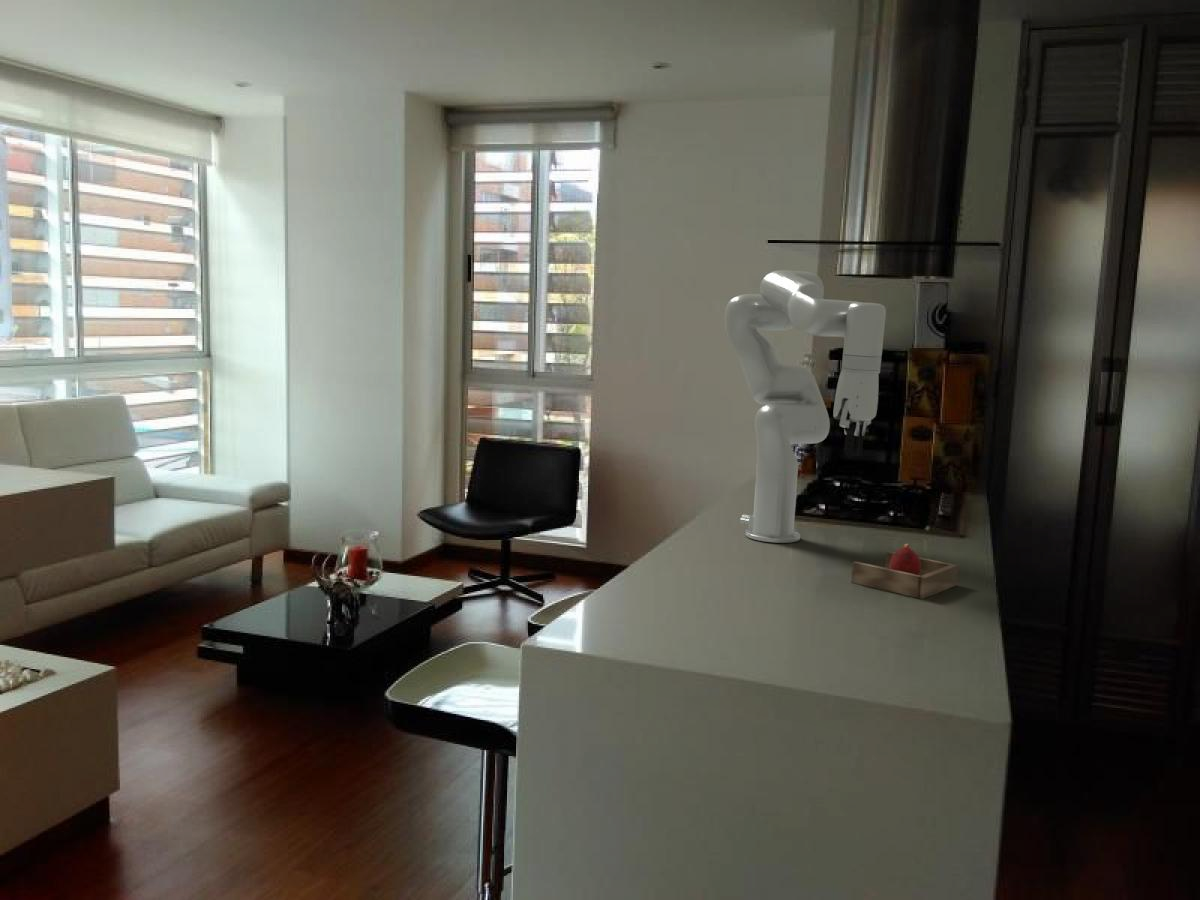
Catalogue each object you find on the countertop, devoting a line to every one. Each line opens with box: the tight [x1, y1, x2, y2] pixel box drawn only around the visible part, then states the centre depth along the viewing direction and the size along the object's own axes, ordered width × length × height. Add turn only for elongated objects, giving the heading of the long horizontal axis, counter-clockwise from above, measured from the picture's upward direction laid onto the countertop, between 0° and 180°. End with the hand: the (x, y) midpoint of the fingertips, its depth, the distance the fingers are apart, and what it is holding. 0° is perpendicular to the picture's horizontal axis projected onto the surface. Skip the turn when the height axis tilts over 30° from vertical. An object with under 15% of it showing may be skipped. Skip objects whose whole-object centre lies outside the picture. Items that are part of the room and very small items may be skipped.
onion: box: [890, 543, 921, 575], centre depth 187 cm, size 6×6×8 cm
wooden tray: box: [851, 550, 959, 600], centre depth 188 cm, size 15×15×4 cm
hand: (852, 454), depth 196 cm, fingers closed
